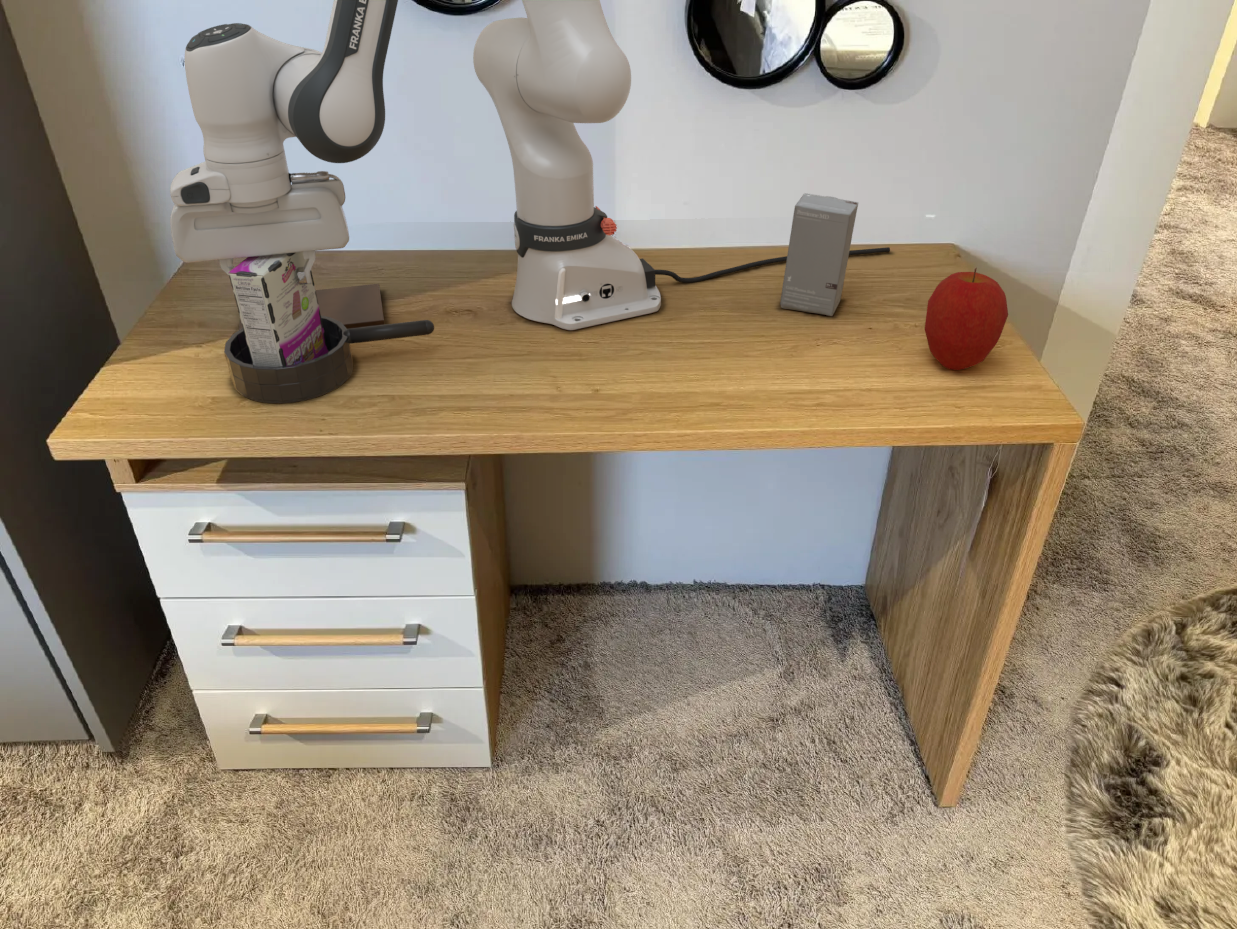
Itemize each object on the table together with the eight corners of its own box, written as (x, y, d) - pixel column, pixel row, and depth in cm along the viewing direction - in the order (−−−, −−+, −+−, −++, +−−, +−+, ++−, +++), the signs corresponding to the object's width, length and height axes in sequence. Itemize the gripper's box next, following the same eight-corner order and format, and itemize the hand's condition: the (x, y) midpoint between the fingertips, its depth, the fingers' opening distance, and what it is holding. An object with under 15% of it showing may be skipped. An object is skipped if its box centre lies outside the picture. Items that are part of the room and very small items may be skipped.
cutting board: (380, 292, 148) (378, 283, 147) (385, 329, 138) (383, 319, 137) (245, 306, 144) (242, 297, 143) (239, 346, 134) (237, 336, 133)
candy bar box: (296, 349, 132) (271, 235, 123) (329, 352, 131) (307, 238, 122) (255, 389, 123) (225, 270, 114) (291, 393, 122) (264, 274, 113)
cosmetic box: (779, 309, 143) (789, 205, 134) (790, 290, 149) (801, 190, 140) (835, 318, 141) (850, 213, 132) (845, 299, 146) (859, 197, 137)
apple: (1008, 379, 126) (1034, 281, 118) (935, 385, 125) (957, 286, 117) (972, 343, 134) (994, 248, 126) (904, 348, 133) (922, 253, 125)
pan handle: (434, 329, 130) (432, 316, 129) (435, 336, 129) (434, 322, 127) (343, 340, 128) (341, 326, 127) (344, 347, 126) (341, 333, 125)
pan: (351, 340, 135) (345, 308, 132) (355, 394, 123) (349, 360, 120) (237, 353, 132) (228, 320, 129) (229, 410, 120) (220, 375, 117)
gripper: (340, 161, 117) (358, 267, 125) (162, 175, 113) (192, 284, 121) (341, 178, 112) (359, 287, 120) (155, 192, 108) (186, 305, 116)
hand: (274, 286), depth 120 cm, fingers closed on candy bar box, 6 cm apart
